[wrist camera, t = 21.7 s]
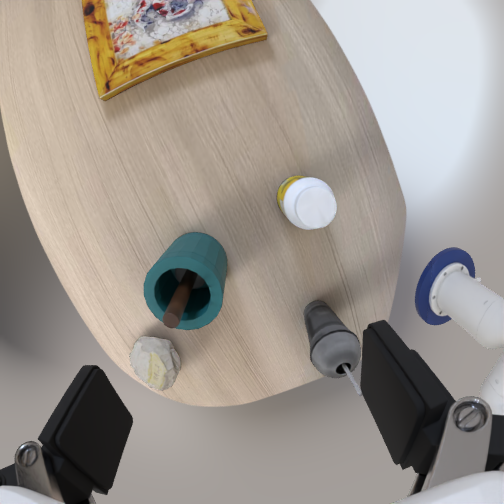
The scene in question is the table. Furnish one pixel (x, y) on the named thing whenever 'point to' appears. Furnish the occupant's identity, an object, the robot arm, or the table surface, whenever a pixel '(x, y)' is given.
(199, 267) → the jar
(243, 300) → the table surface
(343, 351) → the beverage cup
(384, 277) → the table surface
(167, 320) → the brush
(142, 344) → the fossil replica
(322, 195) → the pill bottle
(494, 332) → the robot arm
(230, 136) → the table surface
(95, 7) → the picture frame
